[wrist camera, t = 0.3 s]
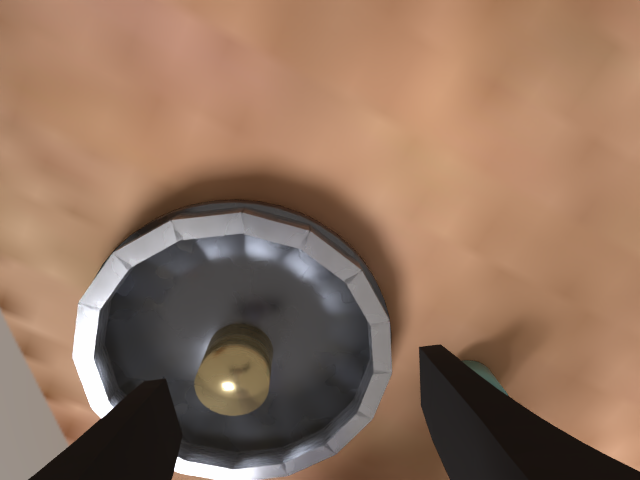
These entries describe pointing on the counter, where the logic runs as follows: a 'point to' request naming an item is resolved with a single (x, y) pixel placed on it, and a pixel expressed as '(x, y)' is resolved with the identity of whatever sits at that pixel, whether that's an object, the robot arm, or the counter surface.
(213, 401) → the round metal bowl
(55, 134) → the counter surface
